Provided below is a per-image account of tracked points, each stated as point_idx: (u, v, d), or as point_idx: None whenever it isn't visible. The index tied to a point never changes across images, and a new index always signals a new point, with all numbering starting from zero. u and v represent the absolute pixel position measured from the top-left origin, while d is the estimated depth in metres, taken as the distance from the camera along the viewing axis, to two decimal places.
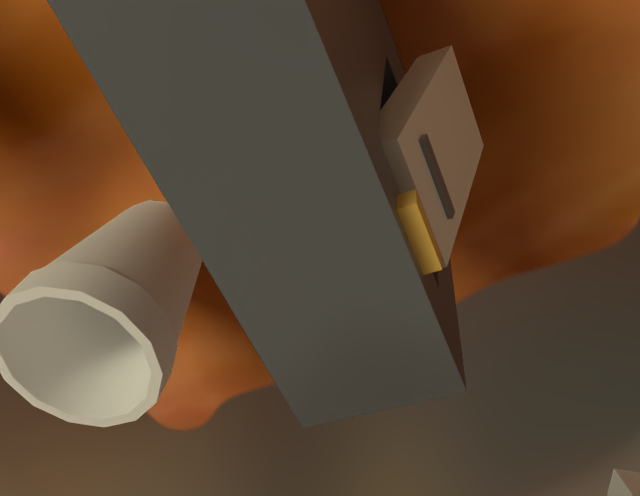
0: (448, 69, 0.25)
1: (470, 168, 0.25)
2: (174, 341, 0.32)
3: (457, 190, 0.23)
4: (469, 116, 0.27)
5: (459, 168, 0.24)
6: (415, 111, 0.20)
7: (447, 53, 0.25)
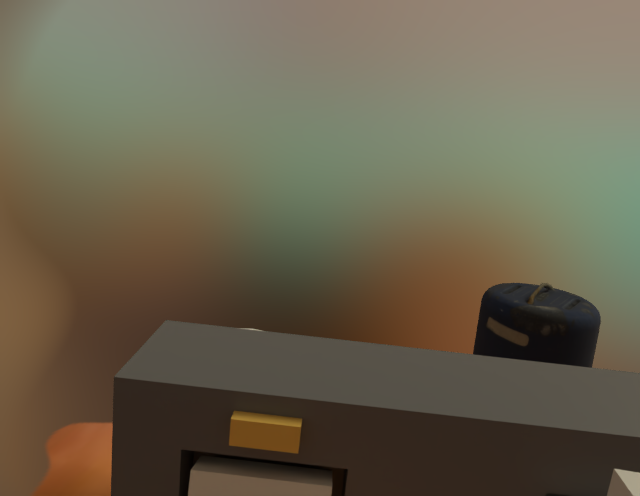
0: None
1: None
2: None
3: None
4: None
5: None
6: None
7: None
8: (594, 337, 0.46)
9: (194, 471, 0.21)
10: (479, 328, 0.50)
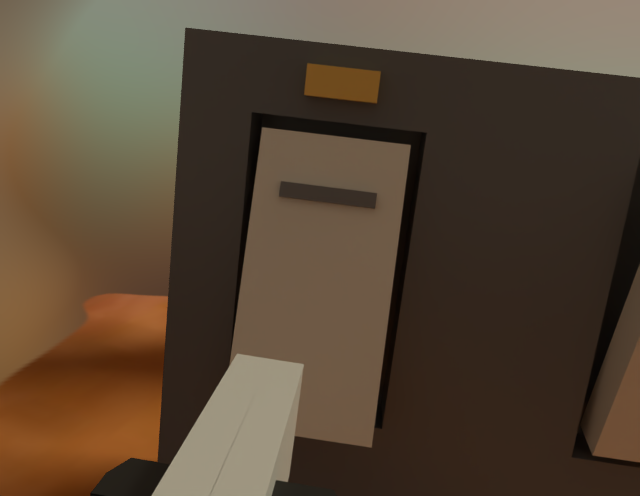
0: (361, 394, 0.19)
1: (249, 325, 0.20)
2: None
3: (272, 247, 0.20)
4: None
5: (279, 282, 0.20)
6: (397, 220, 0.20)
7: (375, 410, 0.19)
8: None
9: (266, 129, 0.20)
10: None
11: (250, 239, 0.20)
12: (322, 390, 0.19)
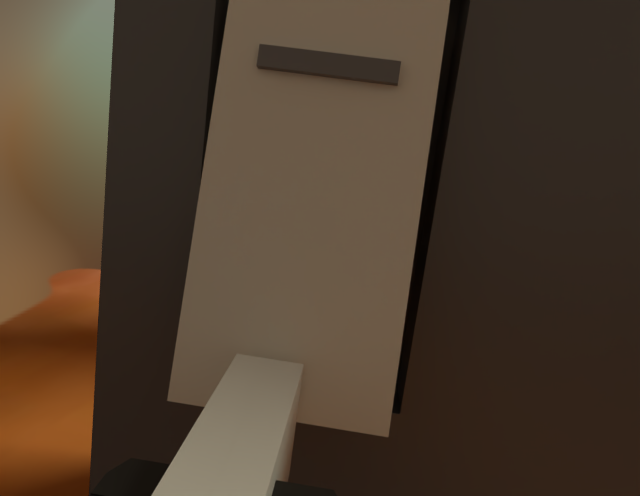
0: (374, 357, 0.13)
1: (211, 256, 0.13)
2: None
3: (246, 141, 0.13)
4: None
5: (255, 192, 0.13)
6: (429, 102, 0.13)
7: (394, 382, 0.13)
8: None
9: None
10: None
11: (214, 130, 0.14)
12: (316, 351, 0.13)
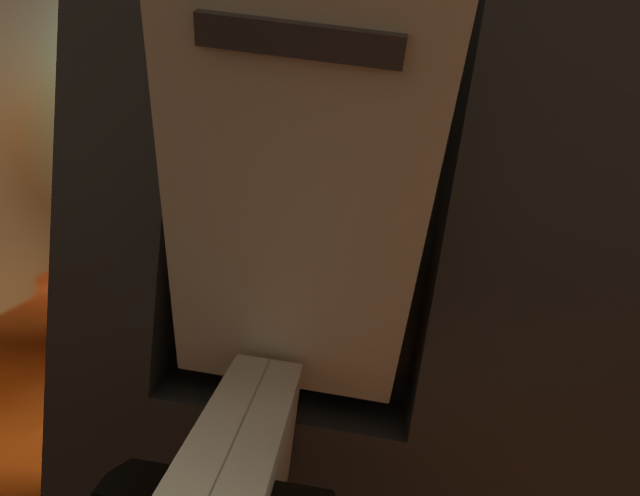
0: (373, 348, 0.13)
1: (189, 259, 0.12)
2: None
3: (203, 140, 0.10)
4: (257, 355, 0.13)
5: (226, 198, 0.11)
6: (449, 90, 0.09)
7: (396, 367, 0.13)
8: None
9: None
10: None
11: (160, 125, 0.10)
12: (314, 342, 0.13)
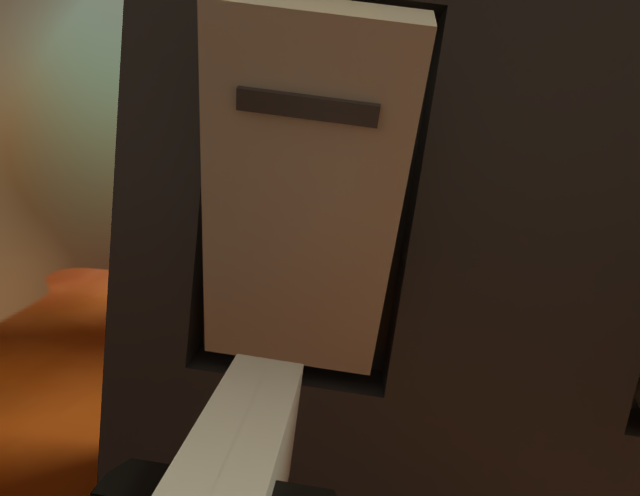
0: (358, 330, 0.17)
1: (220, 261, 0.16)
2: None
3: (236, 174, 0.14)
4: (268, 338, 0.17)
5: (251, 215, 0.15)
6: (409, 140, 0.13)
7: (374, 345, 0.17)
8: None
9: (203, 0, 0.12)
10: None
11: (205, 163, 0.14)
12: (313, 326, 0.17)
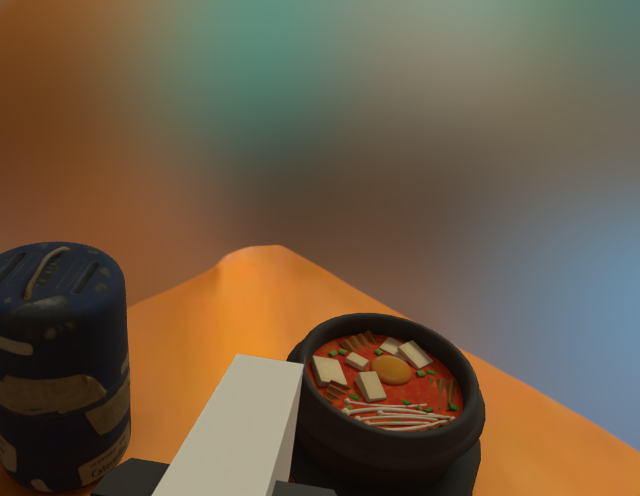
0: None
1: None
2: None
3: None
4: None
5: None
6: None
7: None
8: (117, 312, 0.39)
9: None
10: None
11: None
12: None
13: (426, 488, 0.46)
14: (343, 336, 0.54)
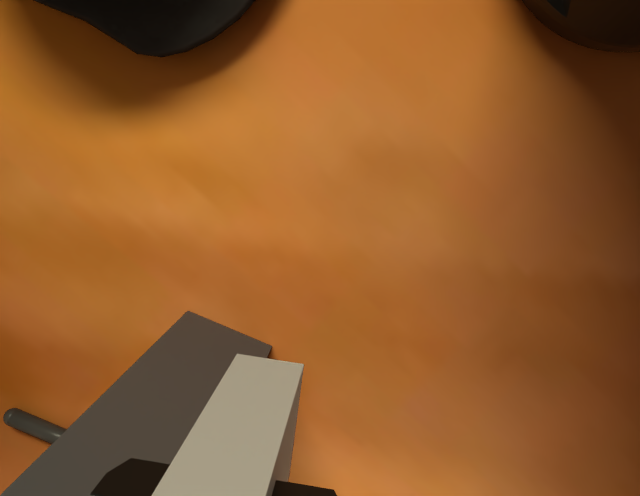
0: None
1: None
2: None
3: None
4: None
5: None
6: None
7: None
8: None
9: None
10: None
11: None
12: None
13: None
14: None
